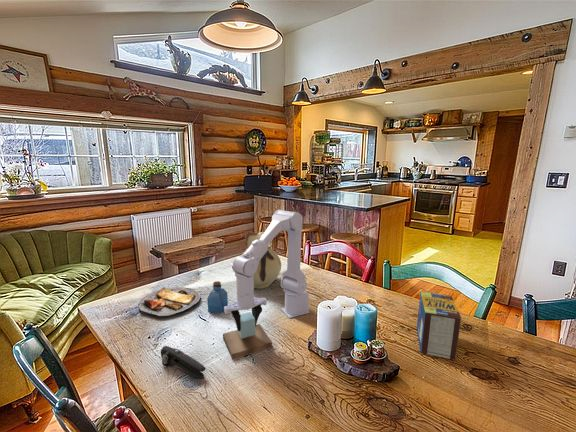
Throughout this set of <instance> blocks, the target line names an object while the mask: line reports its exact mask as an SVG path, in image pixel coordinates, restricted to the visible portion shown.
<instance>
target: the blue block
mask: <svg viewBox="0 0 576 432" xmlns="http://www.w3.org/2000/svg"><path fill="white" fill-rule="evenodd" d="M239 314H240V315H241V318H240V327H241V329H240V331H238V330H237V329H236V330H237V331H238V333H239V335H240V337H241V339H242V338H245V337H249V336H253V335H256V333H255V318H254V317H253V315H252V311H249V312H245V313H239Z"/></svg>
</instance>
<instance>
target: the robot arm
mask: <svg viewBox="0 0 576 432" xmlns="http://www.w3.org/2000/svg"><path fill="white" fill-rule="evenodd" d="M281 231H283V232H284V231H285V232H286V233H287V254H286V255H287V256H286V257H287V260H286V261H287V262H286V263H287V265H286V270H285V271H283V272H282V274H281V275H282V276H281V280H280V287H281V288H282V289H283V292H284V306H283V307H281V310H282V312H283V313H284V314H285V315H286V317H287V318H289V319H292V318H294V317H295V318H296V317H300V316H303V315H306V314H309V313H310V311H309V293H308V292H307V288H308V287H307V286H308V285H307V284H308V282H307V276H306V274H305V273H304V272H303V271H302V270H301V262H302V261H301V258H302V257H301V255H302V232H303V215H301V214H300V212H298V211H288V210H282V209H277V210H275V211H274V214H272V216H271V222H270V224H269V225H268V227H267V228H266V229H265V231H263V232H264V234H263V235H262V237H261V238H260V239H258V240H254V241H253V242H252V244H251V245H250V246H249V248H248V249H247V248H246V249H245V251H244V252H243V253H244V254H243V253H242V254H243V255H242V254H241V255H242V256H241V255H239V256H237V257H236V258H235V259H234V260H233V263H232V265H231V269H232V272H234V277H236V281H235V282H236V301H235V302H233V303H231V304H228V306H225V307H224V312H223V313H224V314H225V315H229V314H230V313H231V315H232V317H233V320H234V322H235V325H236V330H238V331H240V329H241V327H240V318H241V315H240V314H241V313H240V311H247V310H248V311H249V310H251V314H252V315H253V317H254V318H255V327H256V325H257V324H258V320H259V318H260V315H261V314H262V312H263V307H262V306H267V303H268V301H267V298H266V297H258V298H256V297H255V288H254V273H255V272H256V271H257V267H258V264H259V261H260V259H261V258H262V257H263V255H264V254H265V253H266V252H267V250H268V247H267V245H268V244H269V243H270V242H271V241H272V242H273V240H274V238H276V237H277V235H278V234H279V233H280V232H281Z"/></svg>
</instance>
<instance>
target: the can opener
mask: <svg viewBox="0 0 576 432" xmlns="http://www.w3.org/2000/svg"><path fill="white" fill-rule="evenodd" d="M160 356H161V360H162V361H161V363H162V364H161V365H162V366H164V367H171V366H172V367H177V368H179V369H180V370H182V371H184V372H185V373H186V374H188V375H190V376H192V377H193V378H197V379H200V380H202V379H204V377H205V374H204V373H203V372H205V371H206V367H205V365H203V364H202V363H200V362H199V361H197V360H196V359H195V358H193V357H191V356H189V355H187V354H186V353H185V352H183V351H182V350H180V349H178V348H173V347H171V346H169V345H164V346H162V347H161V349H160Z"/></svg>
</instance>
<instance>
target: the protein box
mask: <svg viewBox="0 0 576 432" xmlns="http://www.w3.org/2000/svg"><path fill="white" fill-rule="evenodd" d="M418 303H419V304H418V312H417V320H416V321H417V322H416V332H417V339H418V344H419V351H420V352H421V353H423V354H422V355H425V354H428V355H427V356H429V355H432V356H431V357H434V356H437V357H436V358H439V357H443V358H442V359H444V358H449V359H454V360H455V361H456V358H457V350H458V344H459V336H460V332H461V331H460V329H461V322H462V316H461V313H460V311H459V309H458V308H457V305H456V303H455V301H454V298H453V296H452V295H448V294H440V293H433V292H426V291H420V294H419V302H418ZM421 353H420V354H421ZM449 359H448V360H449ZM454 360H453V361H454Z"/></svg>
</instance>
